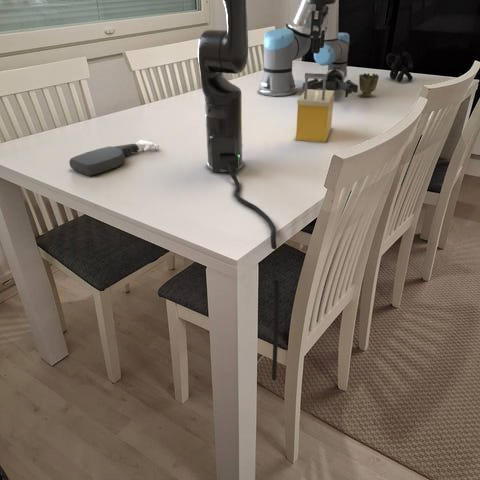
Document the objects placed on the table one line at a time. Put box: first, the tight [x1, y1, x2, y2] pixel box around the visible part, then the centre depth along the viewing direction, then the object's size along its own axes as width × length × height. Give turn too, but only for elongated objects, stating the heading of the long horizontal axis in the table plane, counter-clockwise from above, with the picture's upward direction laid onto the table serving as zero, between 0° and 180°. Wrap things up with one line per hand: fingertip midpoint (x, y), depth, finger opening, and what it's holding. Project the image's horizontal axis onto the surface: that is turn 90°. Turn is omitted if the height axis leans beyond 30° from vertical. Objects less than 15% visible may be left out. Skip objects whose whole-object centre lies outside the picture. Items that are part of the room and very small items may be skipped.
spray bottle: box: [68, 139, 160, 177], centre depth 124 cm, size 3×11×24 cm
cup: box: [358, 72, 380, 98], centre depth 176 cm, size 8×7×8 cm
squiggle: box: [385, 51, 414, 83], centre depth 198 cm, size 11×10×15 cm
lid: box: [296, 72, 335, 107], centre depth 132 cm, size 14×9×8 cm, turn 163°
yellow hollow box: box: [295, 95, 335, 143], centre depth 138 cm, size 13×9×11 cm
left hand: (317, 50), depth 123 cm, fingers open, 8 cm apart
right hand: (326, 92), depth 159 cm, fingers open, 13 cm apart
